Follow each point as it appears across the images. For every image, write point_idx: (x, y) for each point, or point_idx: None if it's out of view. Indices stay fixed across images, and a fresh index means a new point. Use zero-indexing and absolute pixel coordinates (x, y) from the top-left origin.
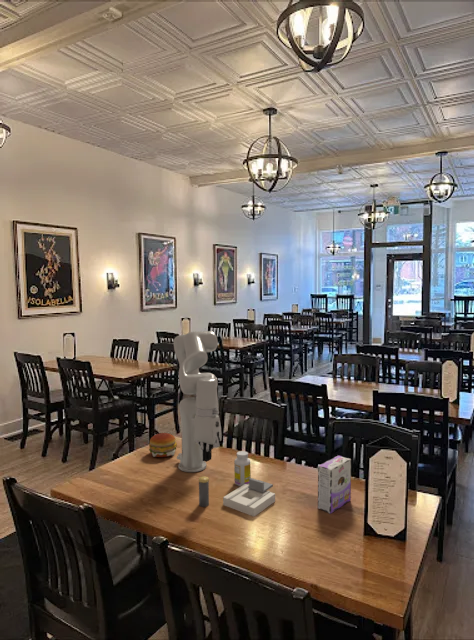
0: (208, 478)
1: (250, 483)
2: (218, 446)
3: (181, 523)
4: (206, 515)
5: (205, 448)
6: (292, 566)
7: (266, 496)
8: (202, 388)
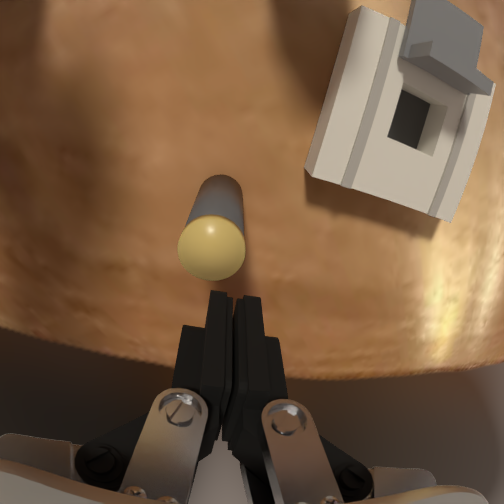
0: (241, 240)
1: (424, 60)
2: (420, 484)
3: None
4: (271, 265)
5: (211, 448)
6: (490, 347)
7: (476, 115)
8: None
